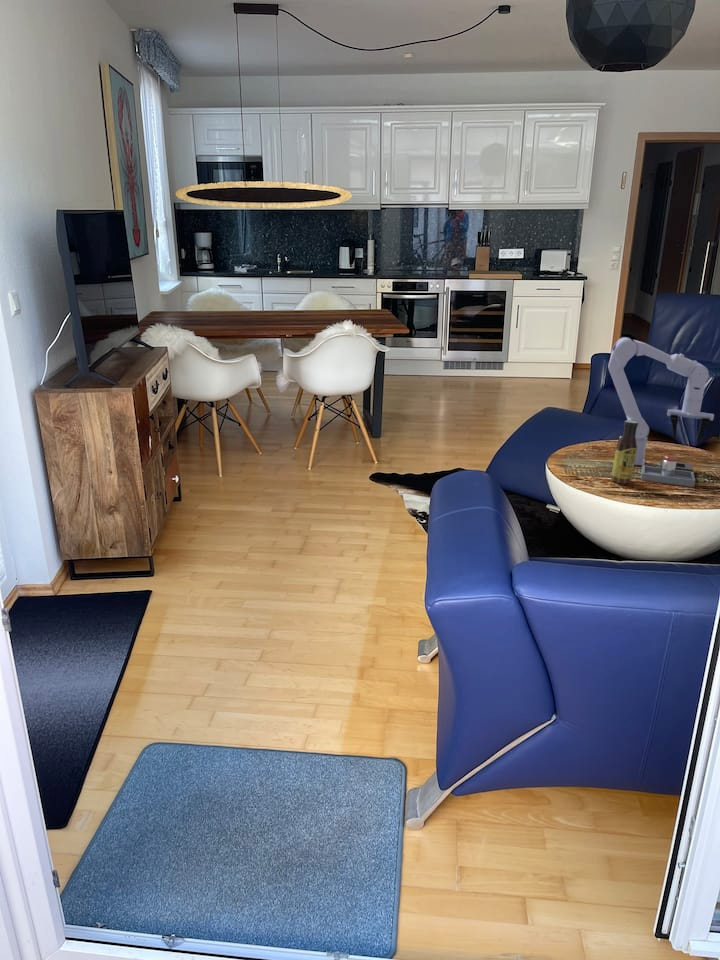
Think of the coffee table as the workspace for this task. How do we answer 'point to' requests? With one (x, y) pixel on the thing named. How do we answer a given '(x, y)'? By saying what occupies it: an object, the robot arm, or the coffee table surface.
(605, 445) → the coffee table surface
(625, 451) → the sauce bottle
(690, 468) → the hitch block
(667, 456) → the small white jar
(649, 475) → the tray
